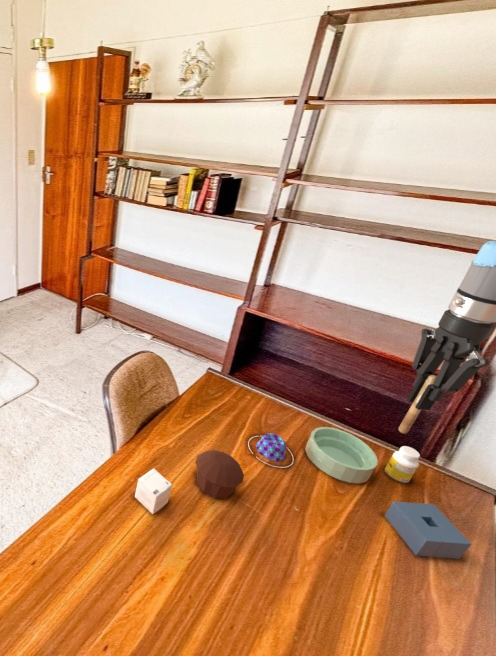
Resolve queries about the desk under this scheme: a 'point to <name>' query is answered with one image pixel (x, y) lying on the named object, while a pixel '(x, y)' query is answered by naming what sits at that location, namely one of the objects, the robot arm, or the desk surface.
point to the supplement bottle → (403, 464)
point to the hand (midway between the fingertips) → (418, 404)
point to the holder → (427, 530)
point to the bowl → (341, 455)
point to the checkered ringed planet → (272, 448)
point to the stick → (414, 408)
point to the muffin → (218, 473)
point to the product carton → (153, 491)
